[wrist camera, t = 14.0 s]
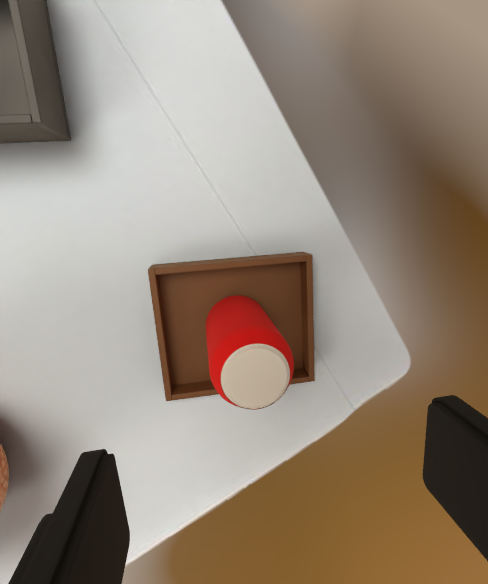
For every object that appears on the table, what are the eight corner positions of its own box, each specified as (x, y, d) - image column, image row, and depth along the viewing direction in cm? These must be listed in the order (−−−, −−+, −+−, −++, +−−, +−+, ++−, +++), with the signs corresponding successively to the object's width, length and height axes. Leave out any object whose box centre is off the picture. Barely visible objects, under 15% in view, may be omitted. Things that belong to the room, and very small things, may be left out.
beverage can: (255, 284, 33) (288, 322, 21) (271, 339, 34) (310, 402, 23) (197, 303, 32) (197, 352, 21) (216, 358, 34) (226, 432, 22)
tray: (303, 251, 33) (312, 254, 31) (306, 369, 36) (314, 381, 34) (151, 264, 31) (147, 269, 29) (168, 388, 35) (166, 401, 32)
